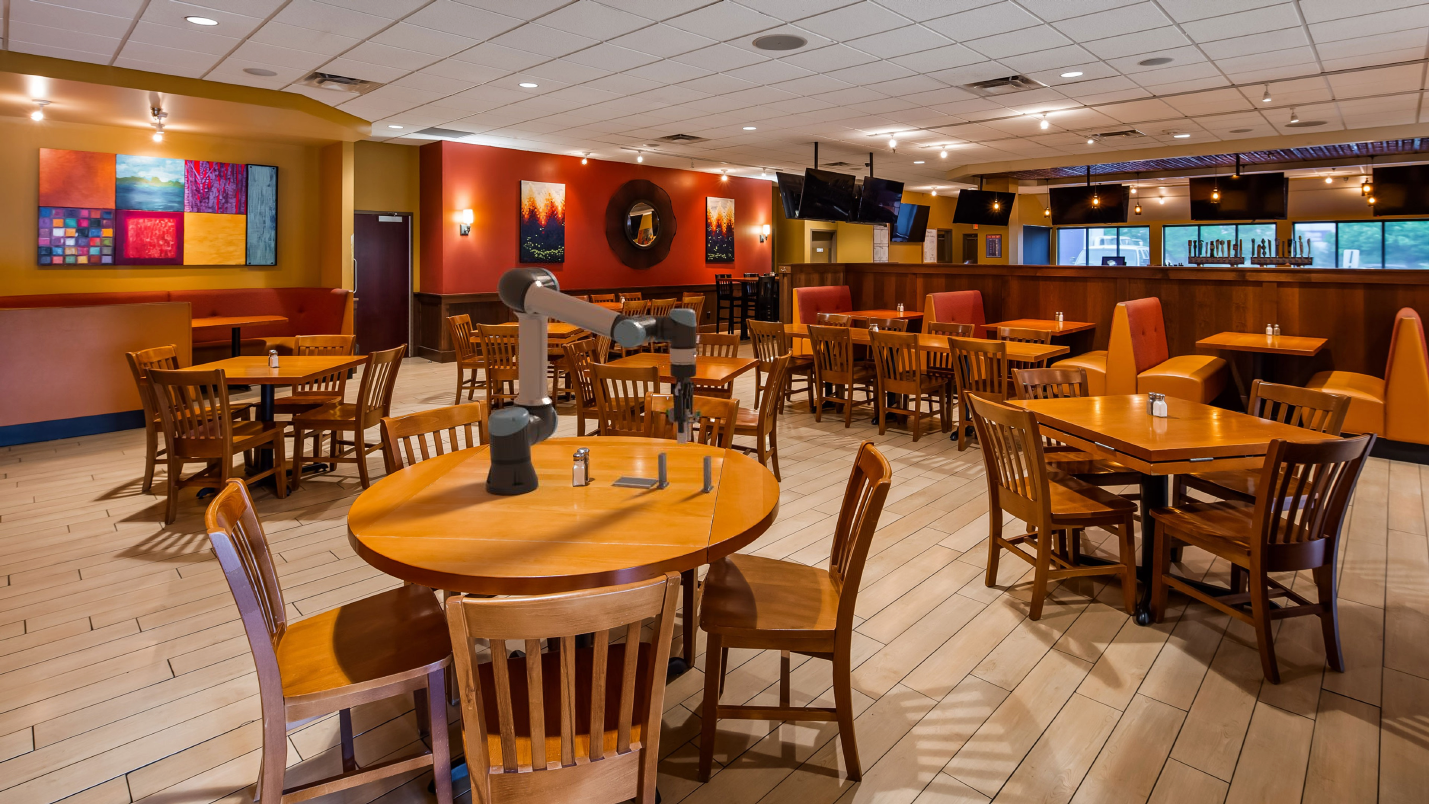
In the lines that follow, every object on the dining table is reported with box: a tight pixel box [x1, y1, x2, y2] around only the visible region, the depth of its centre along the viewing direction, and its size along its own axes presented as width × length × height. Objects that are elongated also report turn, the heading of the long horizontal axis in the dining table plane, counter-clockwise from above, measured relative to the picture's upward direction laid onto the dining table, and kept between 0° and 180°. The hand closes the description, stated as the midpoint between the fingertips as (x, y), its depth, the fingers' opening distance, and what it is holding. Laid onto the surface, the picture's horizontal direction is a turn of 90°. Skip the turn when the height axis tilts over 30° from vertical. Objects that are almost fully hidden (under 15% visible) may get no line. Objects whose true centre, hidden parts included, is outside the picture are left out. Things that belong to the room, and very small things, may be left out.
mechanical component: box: [665, 407, 702, 428], centre depth 227 cm, size 3×10×10 cm, turn 75°
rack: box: [655, 452, 715, 493], centre depth 230 cm, size 16×5×10 cm, turn 74°
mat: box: [612, 475, 659, 489], centre depth 236 cm, size 12×8×1 cm, turn 74°
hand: (683, 441), depth 228 cm, fingers closed on mechanical component, 3 cm apart
